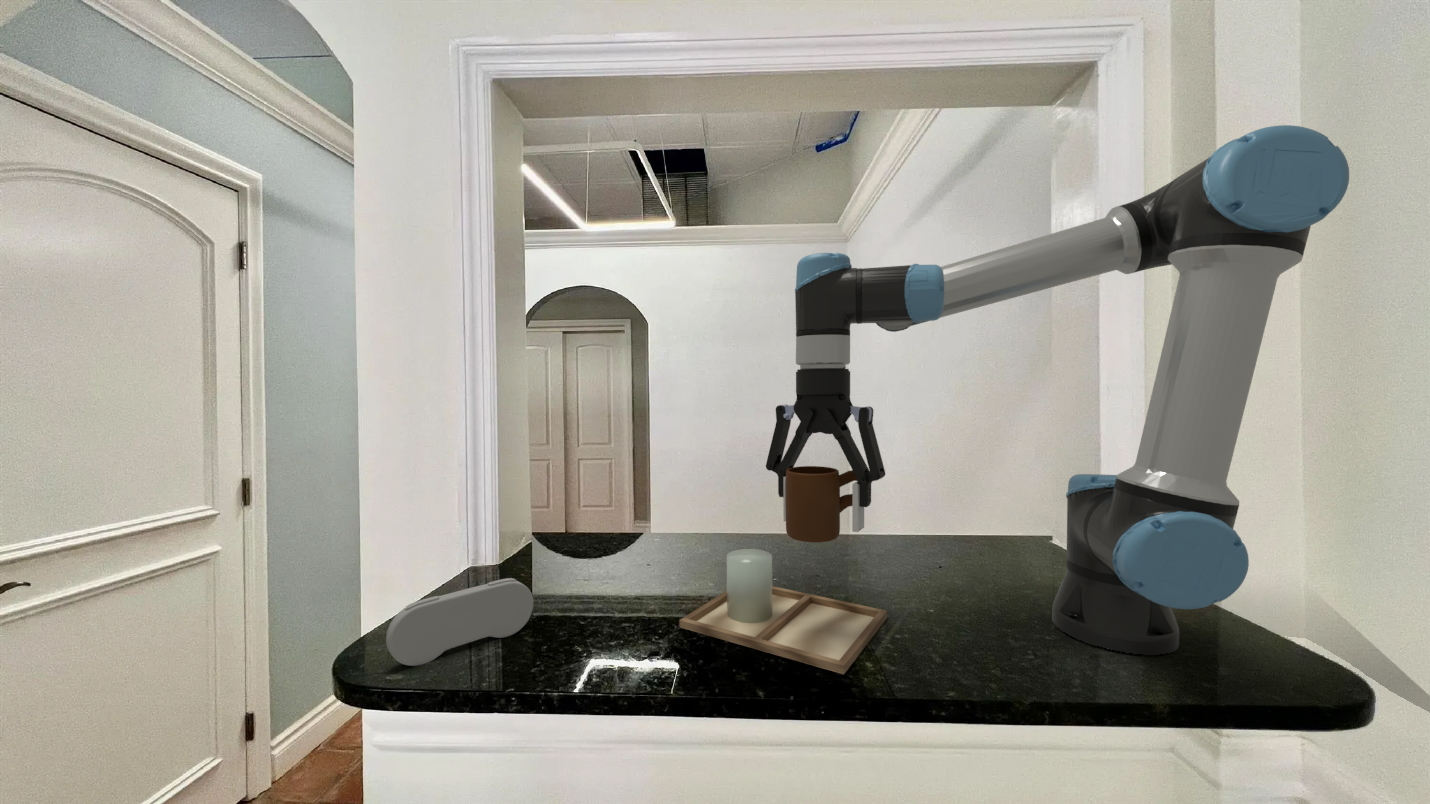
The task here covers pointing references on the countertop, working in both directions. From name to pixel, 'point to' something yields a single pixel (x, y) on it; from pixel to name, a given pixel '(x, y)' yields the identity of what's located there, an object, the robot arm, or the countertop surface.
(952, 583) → the countertop surface
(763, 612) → the pillar candle
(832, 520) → the mug
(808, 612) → the organizer
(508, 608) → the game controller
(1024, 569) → the countertop surface
